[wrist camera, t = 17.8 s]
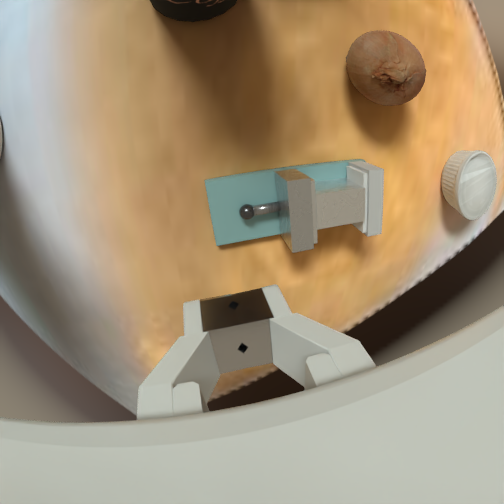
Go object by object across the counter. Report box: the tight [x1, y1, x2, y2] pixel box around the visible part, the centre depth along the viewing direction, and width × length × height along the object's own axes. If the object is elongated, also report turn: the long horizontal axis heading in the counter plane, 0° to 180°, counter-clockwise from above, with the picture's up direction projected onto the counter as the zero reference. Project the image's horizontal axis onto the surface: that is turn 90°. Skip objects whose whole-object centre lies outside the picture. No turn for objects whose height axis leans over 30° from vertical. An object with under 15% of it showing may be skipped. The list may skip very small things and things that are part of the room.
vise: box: [205, 159, 384, 246], centre depth 34 cm, size 20×8×6 cm, turn 97°
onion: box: [346, 30, 426, 106], centre depth 27 cm, size 10×9×10 cm
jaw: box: [239, 169, 317, 253], centre depth 33 cm, size 8×8×5 cm
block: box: [315, 178, 365, 230], centre depth 34 cm, size 6×4×5 cm, turn 97°
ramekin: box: [441, 150, 497, 220], centre depth 38 cm, size 11×11×5 cm
